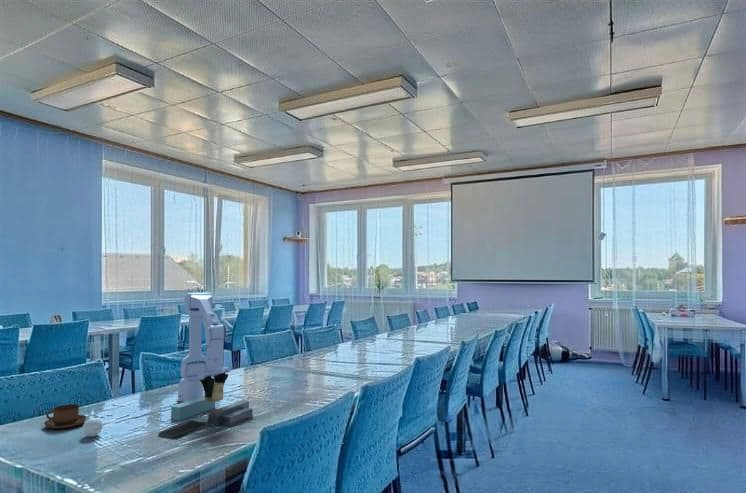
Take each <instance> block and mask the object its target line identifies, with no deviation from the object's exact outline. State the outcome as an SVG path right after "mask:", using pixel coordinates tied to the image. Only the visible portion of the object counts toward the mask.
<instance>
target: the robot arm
mask: <svg viewBox="0 0 746 493" xmlns="http://www.w3.org/2000/svg"><path fill="white" fill-rule="evenodd" d="M213 301H214V297H213V294H212V293H211V292H210V291H209V292H187V293H186V294H185V297H184V312H185V313H186V314H188V318H189V320H188V322H189V323H188V324H189V325H188V326H189V328H188V331H189V334H188V341H189V342H188V354H187V355H186V356H184V358H182V359H181V364H180V376H181V379H180V380H179V382H178V385H177V386H178V388H177V398H176V402H180V403H183V402H186V401H190V400H193V399H196V398H199V397H202V396H205V395H206V397H208V398H211V397H212V390H213V385H214V382H220V383H223V387H224V386H225V383H226V380H227V379H228V377H229V373H230V372H231V367H230V366H223V363H224V341H225V340H226V337H227V326H226V325H225V324H224V323H221V322H220V320H219V317H218V316H217V313H215V312H214V311H213V310H212V306H213V303H214V302H213ZM202 325H203V327H204V337H205V345H206V355H204V354H202ZM212 377H213V378H212Z"/></svg>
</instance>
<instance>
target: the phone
mask: <svg viewBox="0 0 746 493" xmlns="http://www.w3.org/2000/svg"><path fill="white" fill-rule="evenodd" d="M206 425H207V426H208V422H205V421H197V420H187V421H185V422H182V423H180V424H176V425H175V426H172V427H170V428H167V429H164V430H163V431H160V432H158V437H159V438H160V437H162V438H167V439H173V440H175V439H176V440H177V439H179V438H182V437H184V436H186V435H189V434H191V433H193V431H194V432H196V431H198V430H200V428H201V429H203V428H205V427H207V426H206ZM204 426H205V427H204ZM202 427H203V428H202ZM195 430H196V431H195Z"/></svg>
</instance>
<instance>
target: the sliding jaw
mask: <svg viewBox="0 0 746 493" xmlns="http://www.w3.org/2000/svg"><path fill="white" fill-rule="evenodd" d="M170 407H171V410H170V419H171V420H175V421H178V422H180V421H183V420H184V419H188V418H190V417H193V416H196V415H199V414H202V413H205V412H207V411H208V412H209V411H210V410H213V409H215V408H216V402H208V401H205V395H203V396H202V397H199V398H196V399H193V400H190V401H186V402H180V403H177V404H174V405H171V406H170Z"/></svg>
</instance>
